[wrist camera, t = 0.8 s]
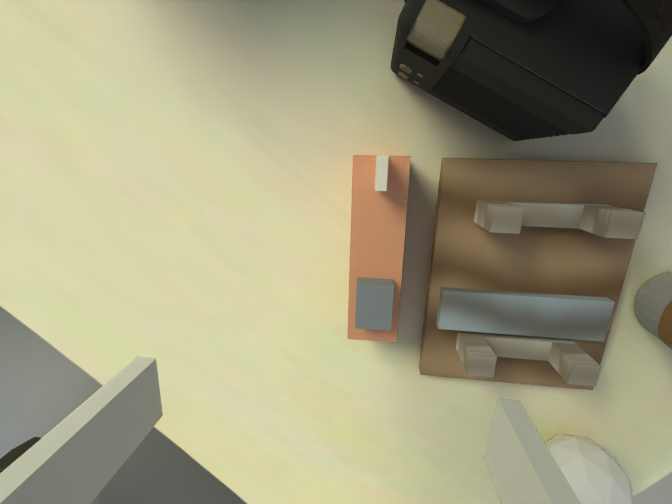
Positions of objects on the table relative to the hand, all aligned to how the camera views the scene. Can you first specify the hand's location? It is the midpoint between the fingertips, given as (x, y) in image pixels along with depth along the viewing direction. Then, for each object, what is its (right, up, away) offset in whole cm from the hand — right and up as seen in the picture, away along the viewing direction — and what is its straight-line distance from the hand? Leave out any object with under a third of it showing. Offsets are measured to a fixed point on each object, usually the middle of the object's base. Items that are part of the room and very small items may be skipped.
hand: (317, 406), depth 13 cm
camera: (+13, +23, +15) cm, 30 cm away
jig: (+19, +3, +19) cm, 27 cm away
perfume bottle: (+24, -15, +24) cm, 37 cm away
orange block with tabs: (+5, +7, +20) cm, 22 cm away
